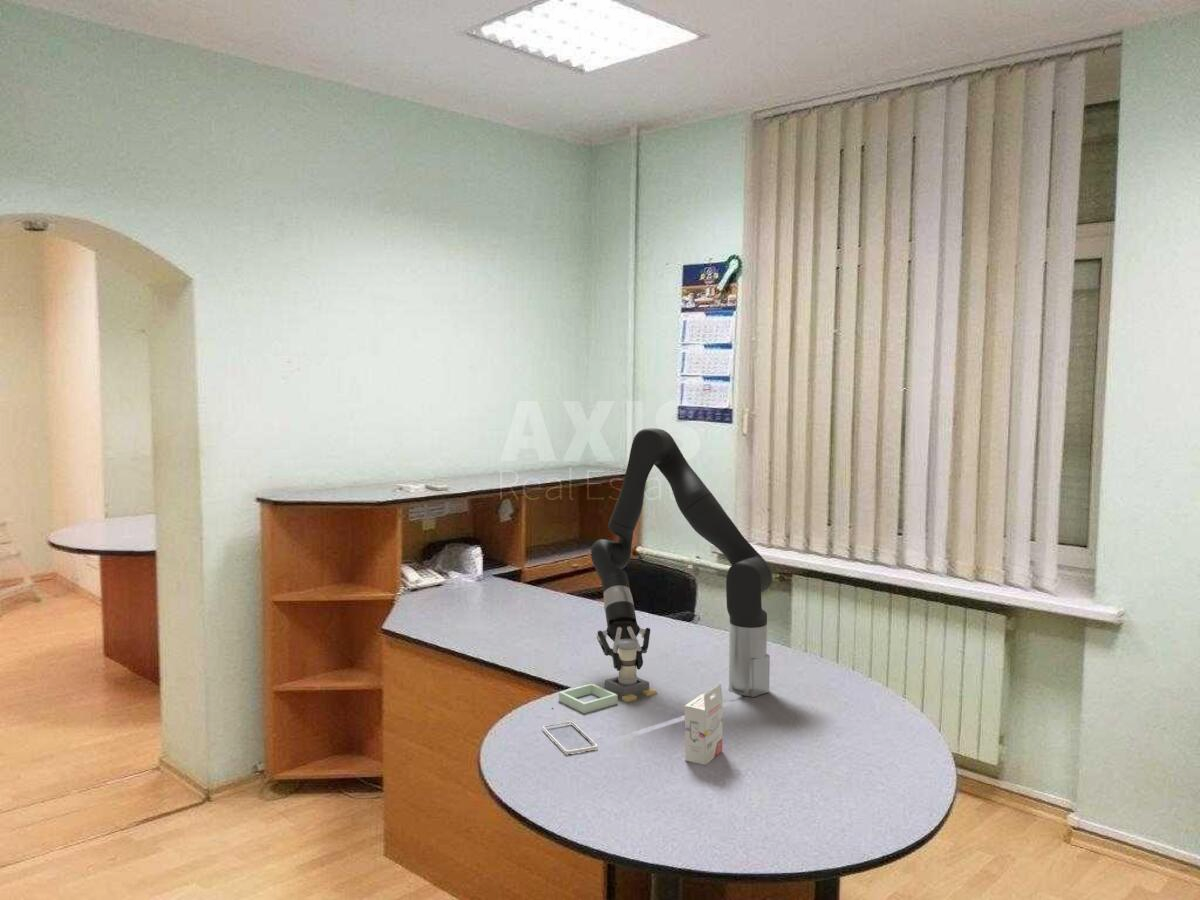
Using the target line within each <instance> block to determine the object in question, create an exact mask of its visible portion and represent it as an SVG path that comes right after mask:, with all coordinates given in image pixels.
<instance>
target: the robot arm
mask: <svg viewBox="0 0 1200 900" xmlns="http://www.w3.org/2000/svg"><path fill="white" fill-rule="evenodd" d="M654 466H655V467H656V468H657V469H658V470H659V472H661V474H662V475H663V476H664V478H665V479H666V480H667V482H668V484H669V486H670V488H671V491H672V494H673V497H674V499H675V502H676V505H677V507H678V510H679V511H680V513H681V514H682V516H683V517H684V518H685V520H686V521H687V522H688V524H689V525H690V527H692V529H693V530H694V531H695V532H696V533H697V535H699V536H700V537H702V538H703V539H704V540H706V541H708V543H710V544H711V545H712V546H714V547H716V549H718V550H719V551H720V552H721V553H722V554H723V555H724V557H725V558H726V559H727V560H728V562H729V564H730V566H729V569H728V570H727V574H726V581H725V592H726V593H725V594H726V596H725V597H726V609H727V613H728V615H729V640H728V641H729V643H728V644H729V645H728V646H729V647H728V649H729V650H728V656H729V657H728V690H729V691H730V693H733V694H736V695H740V696H745V697H751V698H754V697H758V696H759V697H760V696H761V695H764V694H767V693H770V674H771V673H770V670H771V669H770V668H771V665H770V662H771V661H770V660H771V659H770V658H771V657H770V654H769V653H767V652H768V651H767V650H768V642H767V641H768V640H767V639H768V638H767V637H768V614H767V611H765V610H764V609H763V607H762V593H763V592H765V591H767V590H768V589H769V588H770V587H771V586H772V583H773V572H772V570H771V566H769V564H768V562H767V561H766V560H765V559H764V558H763V556H761V554H760V553H759V552H758V551H757V550H756V549H755V548H754V547H753V546H752V545H751V543H750V542H749V541H748V540H747V539H746V538H745V536H744V535H743V534H742V533H741V532H740V530H739V528H738V527H737V526H736V524H735V523H734V522H733V521H732V519H731V518H730V516H729V515H728V514H727V513H726V511H725V510H724V508H723V507H722V505H721V504H720V503H719V501H718V500H717V498H715V495H714V494H713V493H712V492H711V491H710V490H709V488H708V487H707V485H706V484H705V483H704V482H703V481H702V479H701V477H699V476H698V474H697V473H696V471H694V470H693V468H692V467H691V465H689V463H688V461H687V460H686V457H685V455H683V453H682V451H681V449H680V448H679V446H678V445H677V443H676V441H675V440H674V438H673V436H672V435H671V434H670V433H669V432H667V431H666V430H664V429H661V428H654V427H653V428H651V427H647V428H643V429H641V430H639V431H638V432H637V433H636V434H635V435H634V437H633V440H632V443H631V447H630V451H629V457H628V462H627V466H626V469H625V475H624V479H623V482H622V485H621V489H620V491H619V494H618V498H617V500H616V503H615V506H614V508H613V512H612V514H611V516H610V519H609V521H608V524H607V525H608V526H607V528H608V530H609V532H610V533H612V534H614V535H616V536H618V540H617V541H613V540H608V539H605V538H604V539H603V538H602V539H597V540H596V541H594V543H592V547H591V551H590V558H591V562H592V564H593V566H594V569H595V571H596V573H597V575H598V578H599V579H600V581H601V585H602V587H601V588H602V592H603V593H602V594H603V605H604V606H603V610H604V612H605V619H606V626H607V628H606V630H603V631H602V630H598V631H597V634H596V639H597V641H598V644H599V646H600V647H601V649H602V652H603V654H604V655H605V656H609V657H612V664H613V668H614V669H616V671H618V672H619V671H620V669H621V664H620V658H619V653H618V640H619V639H623V638H632V639H635V640H637V648H636V658H637V664H636V669H637V670H641V668H642V667H643V664H644V660H643V654H646V653H647V652H648V649H649V643H650V635H651V628H649V627H646V628H642V627H640V626H639V624H638V622H637V616H636V610H635V605H634V599H633V595H632V592H631V587H630V582H629V578H628V574H627V572H626V571H625V570H623V569H624V568H626V566H627V565H628V564H629V562H630V560H631V555H632V543H633V538H634V531H635V529H636V527H637V524H638V521H639V519H640V516H641V513H642V510H643V504H644V497H645V496H644V495H645V487H646V483H647V480H648V478H649V475H650V472H651V471H652V469H653V467H654ZM639 634H640V637H641V638H642V639H643V640H642V646H641V645H640V643H639V639H638V636H639ZM607 637H609V639H611V640H612V641H613V646H612V648H611V647H610V645H609V643H608V641H607Z"/></svg>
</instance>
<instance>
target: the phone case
mask: <svg viewBox="0 0 1200 900" xmlns="http://www.w3.org/2000/svg"><path fill="white" fill-rule="evenodd" d="M569 723H571V724H573V725H574V726H575V727H576V728H577V729H578V730H579V731H580V732H581V733H582V734H583V735H584V736H585V737H586V738H587V739H588V740H589V741H590V742H591V743H592V744H593V745H594V746H593V745H592V744H591V743H590V742H589V743H590V744H591V746H587V747H582V748H576V749H570V750H567V749H566V748H565V747H564V746H563V745H562V744H561V743H560V742H559V741H558V740H557V739H556V738H555V737H554V735H552V734H551V733H550V732H549V730H548V729H546V728H545V727H554V725H555V726H560V724H561V725H567V724H569ZM543 729H544V730H545V731H546V733H548V735H549V736H550V737H551V738H552V739H553V740H554V741H555V742H556V743H557V745H556V746H559V748H560V749H561V750H562V752H563V751H564V753H566V754H571V753H577V752H583V751H589V750H595V749H597V750H598V744H597V743H596V742H595V741H594V740H593V739H592V738H591V737H590V736H589V735H588V734H587V733H586V732H584V730H582V729H581V728H580V727H579V726H578V725H577V724H576V723H575V722H573V721H571V720H570V721H565V722H558V723H553V724H547V725H543V726H542V730H543ZM595 751H596V750H595ZM589 752H590V751H589ZM564 753H563V754H564Z"/></svg>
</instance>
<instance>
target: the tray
mask: <svg viewBox="0 0 1200 900" xmlns="http://www.w3.org/2000/svg"><path fill="white" fill-rule="evenodd" d="M601 687H602V686H599V685H597V684H594V683H588V684H585V685H581V686H578V687H574V688H569V689H566V690H563V691H558V702H560V703H562V704H565V705H566V706H568V707H570V708H573V709H575V710H576V711H579V712H581V714H582V713H583V714H586V713H591V712H593V711H597V710H600V709H604V708H608V707H611V706H614V705H617V704H618V702H619V701H618V700H619V699H618V695H617V694H615V693H613V692H610V691H608V690H606V689H604V688H601ZM587 695H594V696H596V697H598V698H596V699H592V700H588V701H582V700H581V699H578V698H581V697H584V696H587Z"/></svg>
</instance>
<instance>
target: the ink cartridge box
mask: <svg viewBox="0 0 1200 900" xmlns="http://www.w3.org/2000/svg"><path fill="white" fill-rule="evenodd" d="M722 690H723V689H722V684H721V683H719V684H718V685H716V686H715V687H713V688H711V689H710V690H708V692H706V693H701V694H699V695H698V696H696V697H695V698H694V699H693V700H691V701H689V702H688V703H687V704H685V705H684V761H686V762H690V763H695V764H698V765H701V766H702V765H703V766H706V765H708V764H709V763H710V762H711V761H712V760H714V758H716V757H717V756H718V755H719V754H720V753H721V752H722V751H723V693H722V692H723V691H722ZM713 694H715V695H713Z"/></svg>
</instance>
